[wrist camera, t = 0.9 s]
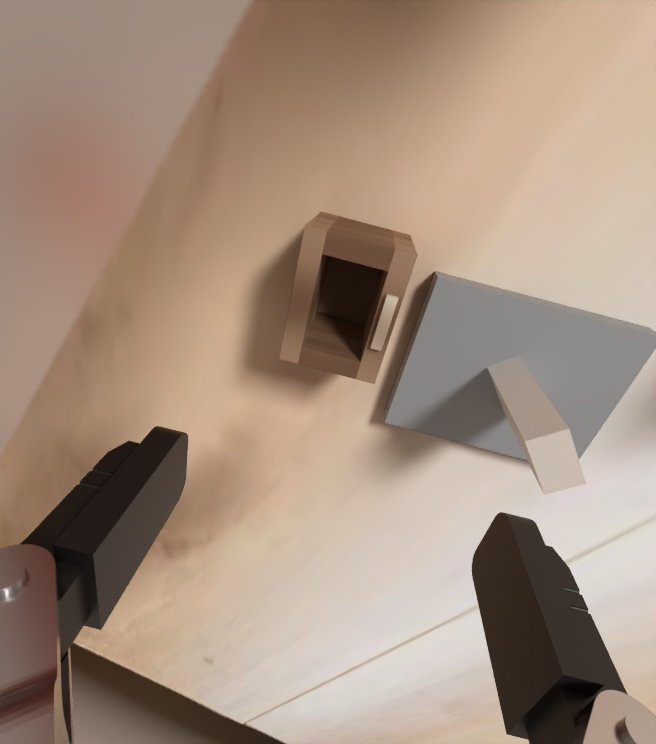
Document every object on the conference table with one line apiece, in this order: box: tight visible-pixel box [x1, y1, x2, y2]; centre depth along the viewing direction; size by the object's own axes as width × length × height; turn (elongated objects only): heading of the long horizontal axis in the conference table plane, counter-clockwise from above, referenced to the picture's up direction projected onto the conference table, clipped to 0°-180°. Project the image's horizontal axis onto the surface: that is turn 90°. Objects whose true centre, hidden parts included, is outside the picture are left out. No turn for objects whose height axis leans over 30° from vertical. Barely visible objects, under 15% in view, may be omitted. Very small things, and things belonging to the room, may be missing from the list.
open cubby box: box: [279, 212, 417, 384], centre depth 24 cm, size 7×6×6 cm
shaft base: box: [384, 271, 656, 494], centre depth 24 cm, size 11×14×10 cm
